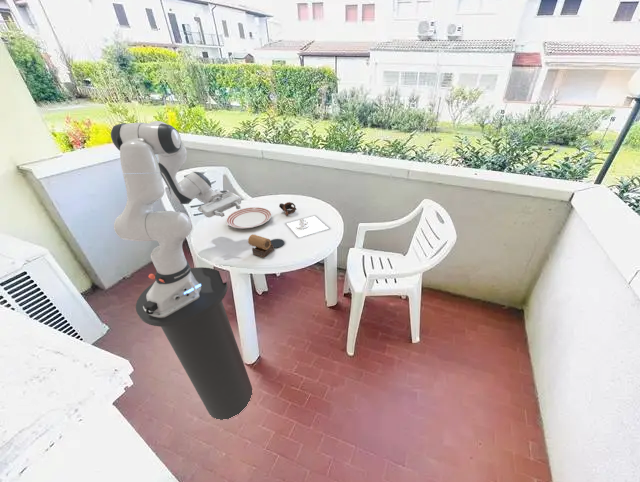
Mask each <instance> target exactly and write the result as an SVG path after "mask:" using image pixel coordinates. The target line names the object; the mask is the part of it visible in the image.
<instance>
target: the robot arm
mask: <svg viewBox="0 0 640 482" xmlns="http://www.w3.org/2000/svg"><path fill="white" fill-rule="evenodd" d="M110 138H111V140H112V144H113V145H114V147H115V148H116V149H117V150H118V151H119V158H120V159H119V160H120V167H121V172H122V176H123V180H124V185H125V188H126V203H125V206H124V209H123V211H122V212H121V213H120V214H119V215H118V216H117V217H116V218H115V220H114V223H113V228H114V232H115V234H116V235H117V236H118V238H119V239H121V240H123V241H132V242H150V241H151V242H152V241H155V242H158V244H159V245H157V246H156V247H154V248H153V249H152V250H151V253H150V260H151V262H152V264H153V266H154V268H155V270H156V271H155V274H154V273H149V274H148V279H150V280H155V281H154V282H153V283H154V284H153V283H152V284H153V285H152V287H151V288H150V290H149V291H148V293H147V295H146V299H147V302H146V303H145V304H143V309H144V311H145V312H146V313H147V314H149V315H151V316H153V317H157V318H164V317H167V316H168V315H170V314H172V313H174V312H176V311H177V310H179V309H181V308H183V307H184V306H186V305H188V304H190V303H191V302H193V301H195V300H197V299H198V298H199V297H200V295H199V293H200V290H201V284H199V283H198V281H197V280H196V279H195V277H194V276H193V274H192V272H191V268H192V267H191V265H190V263H189V261H188V260H187V259H186V256H185V253H184V250H183V244H184V243H183V242H184V240H185V239H186V238H188V236H189V235H190V234H191V233H192V229H193V224H192V220H191V218H190V216H189V215H187V213H186V212H181V211H175V210H159V211H158V210H157V211H154V205H155V202H158V201H159V200H161V199H162V198H163V197H164V195H165V187H164V183H163V181H164V182H165V185H166V187H167V188H168V190H169V194H170V196H171V197H172V199H173V200H174V201H176V203H179V204H180V205H189V204H191V202H192V201H193V200H194V199H196V200H198V201H199V202H201V203H203V204H201V205H199V206H198V207H197V210H198V212H201V213H202V214H203V215H204V217H206V218H209V219H210V218H212V217H214V216H218V217H221V218H224V217H225V213H224V212H225V211H228V210H231V209H233V208H234V207H235V209H236V210H240V209H241V204H242V198H241V196H239V195H238V194H236V193H234V192H231V191H230V190H228V189H223V190H214V189H212V182H211V181H210V180H209V178H208V177H207V176H206V175H204V174H203V173H201V172H199V171H192V172H190V173H189V174H188V175H186V176H185V177H184V178H183V179H182V180H180V181H179V182H178V180H177V174H178V172H179V170H180V169H181V168H182V167H183V165H184V164H185V162H187V158H188V151H187V148H186V146H185V144H184V142H183V141H182V138H181V135H180V132H179V131H178V129H177V128H176V127H174V126H173V125H171V124H167V123H166V122H164V121H160V120H154V121H151V122H129V123H123V122H122V123H118V124H115V125H114V126H113V127H112V129H111V131H110ZM156 155H157V157H156ZM157 158H158V159H157Z"/></svg>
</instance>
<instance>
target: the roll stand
mask: <svg viewBox="0 0 640 482" xmlns="http://www.w3.org/2000/svg"><path fill="white" fill-rule="evenodd" d="M274 251H275V248H274V247H273V244H271V246H270V248H269V249H268V250H264V249H261V248H258V247H252V248H251V252H252V255H253V256H257V257H259V258H262V259H264V258H266V257H267V256H268V255H270V254H271V253H272V252H274Z"/></svg>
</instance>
